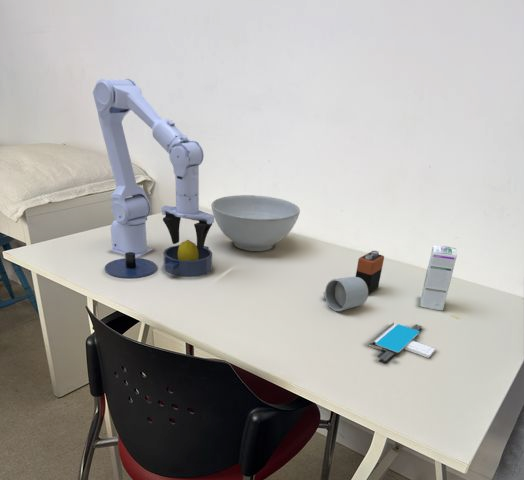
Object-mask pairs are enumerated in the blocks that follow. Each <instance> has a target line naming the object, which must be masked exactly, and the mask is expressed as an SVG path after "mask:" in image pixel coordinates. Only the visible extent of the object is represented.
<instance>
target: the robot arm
mask: <svg viewBox="0 0 524 480" xmlns="http://www.w3.org/2000/svg"><path fill="white" fill-rule="evenodd" d="M92 94H93V99H94V103H95V107H96V111H97V115H98V122H99V124H100V129H101V133H102V136H103V137H102V138H103V141H104V144H105V148H106V153H107V156H108V160H109V164H110V167H111V171H112V175H113V179H114V184H115V187H116V188H115V189H114V191H113V192H112V193H111V195H110V200H111V201H110V202H111V215H112V216H113V219H114V220H113V221H112V223H111V224H110V225H111V226H110V236H111V247H112V248H111V249H110V251H111V252H114V253H115V252H116V253H119V254H124V255H125V253H127V252H133V253H135V258H139V257H140V256H143V255H144V254H146V253H149V252H151V251H153V250H154V248H152V247H148V241H147V240H148V239H147V224H146V222H147V221H148V217H149V216H150V215H151V213H152V206H151V202H150V200H149V198H148V197H147V194H146V191H145V189H144V188H143V187H141V186H140V185H139V184H138V183H137V181H136V177H135V171H134V167H133V164H132V160H131V155H130V152H129V147H128V143H127V139H126V134H125V131H124V127H123V120H124V118H125V117H126V116H127V115H128V114H129V113H130V111H132V112H133V113H134V114H135V115H136V116H137V117H138V118H139V119H140V120H141V121H143V123H144V124H145V125H147V126H148V127H149V128H150V129H151V130H152V131H151V132H152V138H153V139H154V140H155V141H156V142H157V143H158V144H159V145H160V146H161V147H162V148H163V149H164V150H165V151H166V152H167V154H168V155H169V156H168V158H169V161H170V163H171V165H172V168H173V174H174V176H175V178H174V179H175V206H170V205H163V206H161V215H162V216H164V217H162V221H163V223H164V225H165V227H166V228H167V230H168V234H169V235H170V239H171V242H172V244H173V245H176V244H178V243H180V225H181V219H186V220H191V221H197V222H196V223H194V224H193V226H194V230H195V235H196V245H197V249H198V250H200V249H202V248H203V247H204V246H205V242H206V239H207V237H208V233H209V231H210V229H211V227H212V226H213V224H214V223H215V218H214V215H213V214H210V213H207V212H205V211H202V210H200V204H199V203H200V202H199V201H200V198H199V197H200V195H199V194H200V192H199V191H200V188H199V187H200V186H199V185H200V181H199V178H200V177H199V176H200V175H199V174H200V173H199V170H200V169H199V167H200V166H201V165H202V163H203V161H204V155H205V154H204V151H203V147H202V146H201V144H200V143H199V142H198V141H197V140H190V139H189V138H188V136H187V135H185V134H183V132H181V130H179V128H178V127H177V126H176V123H175V121H174V120H172V119H171V120H170V119H169V118H162V117H161V116H160V115H159V113H158V112H157V111H156V110H155V108H153V106H152V105H151V104H150V102H149V101H148V100H147V99H146V98H145V97H144V95H143V94H142V88H141V87H140V86H138V85H137V83H136V82H135V80H133V79H130V78H125V79H106V78H100V79H98V80H96V83H95V85H94V87H93V90H92Z"/></svg>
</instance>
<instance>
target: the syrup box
mask: <svg viewBox="0 0 524 480" xmlns="http://www.w3.org/2000/svg"><path fill="white" fill-rule="evenodd" d="M457 254H458V253H457V248H456V247H451V246H447V245H434V244H433V245H432V248H431V252H430V256H429V261H428V264H427V269H426V273H425V277H424V282H423V286H422V291H421V294H420V303H419V306H420V307H421V308H425V309H430V310H437V311H443V310H444V307H445V304H446V301H447V297H448V292H449V290H450V289H449V288H450V284H451V281H452V276H453V273H454V269H455V264H456V261H457V256H458V255H457Z"/></svg>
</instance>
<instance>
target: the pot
mask: <svg viewBox="0 0 524 480" xmlns="http://www.w3.org/2000/svg"><path fill="white" fill-rule="evenodd" d="M195 245H196V246H197V244H195ZM179 246H180V244H178V245H173V246H169V247H166V248H165V249H164V250H163V252H162V257H163V258H162V259H163V269H164V271H165V272H166V273H167V274H170V275H173V276H176V277H183V278H193V277H196V278H197V277H201V276H205V275H207V274H209V273H211V272H212V269H213V252H212V250H211V249H210V247H209V246H207V245H204V247H203V248H202V249H200V250H198V260H194V261H184V260H178V248H179Z"/></svg>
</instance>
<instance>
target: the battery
mask: <svg viewBox="0 0 524 480" xmlns="http://www.w3.org/2000/svg"><path fill="white" fill-rule="evenodd" d="M379 252H380V251H378V250H371V251H369V252H367V253H365V254H364V255H362V256H360V257H358V258H357V259H358V260H357V266H356V272H355V277H359V278H361V279H363V280H364V281H365V282H366V284H367V286H368V295H369V294H371V293H372V292H373V291H375V290H377V289H379V285H380V281H381V275H382V270H383V267H384V261H385V255H382V254H380V253H379Z"/></svg>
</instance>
